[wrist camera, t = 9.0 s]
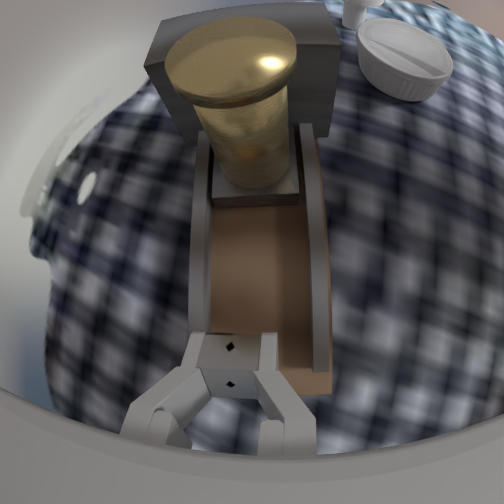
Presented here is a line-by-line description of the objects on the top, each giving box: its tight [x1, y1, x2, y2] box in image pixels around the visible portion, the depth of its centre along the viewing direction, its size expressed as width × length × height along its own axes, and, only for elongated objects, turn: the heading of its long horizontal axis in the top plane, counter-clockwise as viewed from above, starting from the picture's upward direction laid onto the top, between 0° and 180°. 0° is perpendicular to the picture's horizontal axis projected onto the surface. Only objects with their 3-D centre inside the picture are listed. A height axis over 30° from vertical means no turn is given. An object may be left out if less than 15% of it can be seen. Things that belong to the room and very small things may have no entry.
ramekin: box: [356, 18, 453, 102], centre depth 24 cm, size 11×11×5 cm
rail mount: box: [144, 2, 342, 396], centre depth 18 cm, size 26×12×12 cm, turn 1°
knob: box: [165, 17, 299, 209], centre depth 17 cm, size 6×6×12 cm
